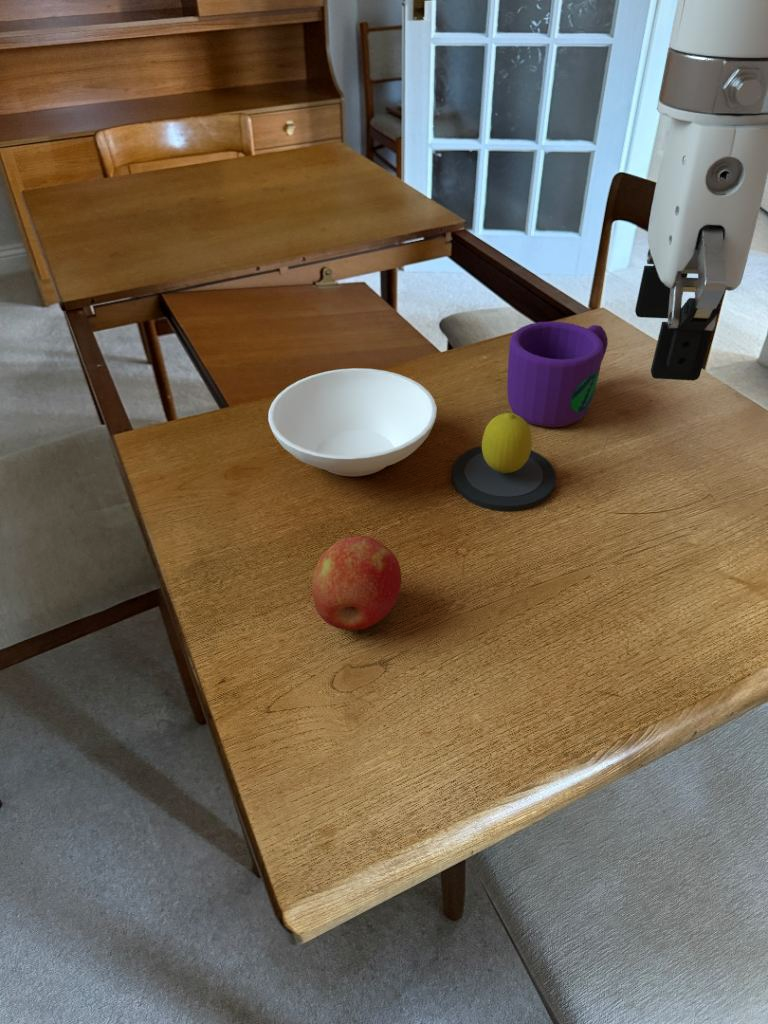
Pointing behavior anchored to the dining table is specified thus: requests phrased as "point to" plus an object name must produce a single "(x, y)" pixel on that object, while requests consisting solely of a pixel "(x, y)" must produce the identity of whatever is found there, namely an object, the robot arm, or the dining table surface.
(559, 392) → the mug
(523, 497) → the plate
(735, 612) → the dining table surface
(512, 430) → the lemon
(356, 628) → the apple
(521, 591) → the dining table surface
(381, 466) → the bowl
